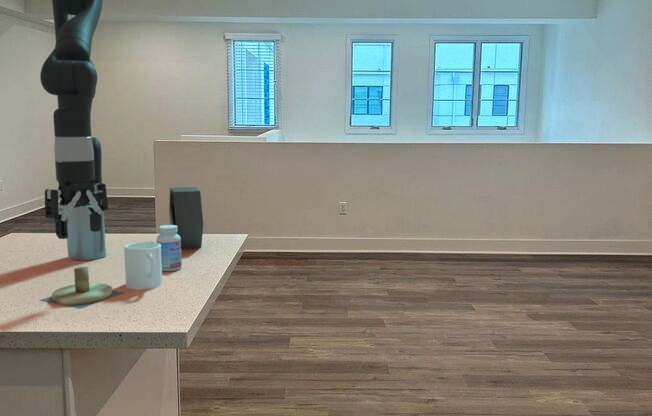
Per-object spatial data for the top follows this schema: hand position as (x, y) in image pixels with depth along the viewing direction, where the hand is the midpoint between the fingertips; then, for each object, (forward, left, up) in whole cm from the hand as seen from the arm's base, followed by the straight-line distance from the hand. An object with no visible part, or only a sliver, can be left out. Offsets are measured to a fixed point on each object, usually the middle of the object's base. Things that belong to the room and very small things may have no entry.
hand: (79, 234), depth 124 cm
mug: (+7, +12, -14) cm, 20 cm away
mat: (0, 0, -14) cm, 14 cm away
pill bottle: (0, +28, -14) cm, 32 cm away
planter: (-14, +52, -14) cm, 56 cm away
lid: (0, 0, -14) cm, 14 cm away
